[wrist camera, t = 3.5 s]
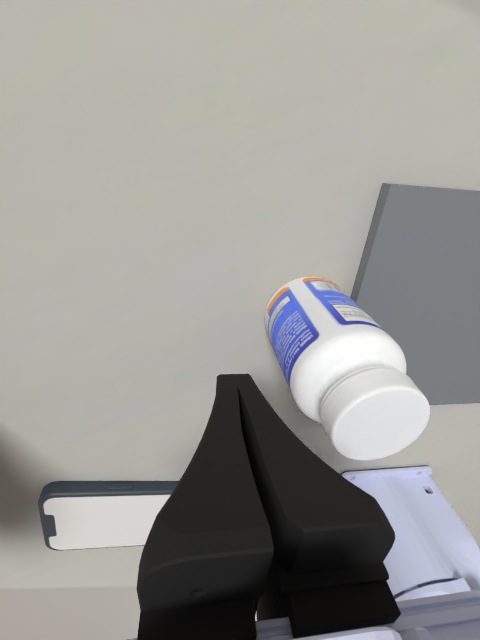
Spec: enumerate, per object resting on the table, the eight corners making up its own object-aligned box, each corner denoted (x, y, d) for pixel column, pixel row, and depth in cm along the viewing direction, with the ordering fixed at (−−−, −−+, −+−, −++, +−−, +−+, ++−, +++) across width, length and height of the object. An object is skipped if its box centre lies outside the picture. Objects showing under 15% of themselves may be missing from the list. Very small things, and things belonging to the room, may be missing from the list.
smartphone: (233, 473, 29) (43, 475, 25) (235, 490, 27) (34, 495, 24) (217, 526, 33) (52, 534, 29) (219, 542, 32) (45, 553, 28)
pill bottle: (279, 357, 22) (333, 490, 13) (249, 296, 19) (293, 413, 11) (351, 325, 21) (454, 443, 13) (331, 258, 19) (444, 351, 10)
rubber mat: (591, 200, 19) (607, 202, 18) (474, 396, 27) (482, 402, 26) (382, 183, 17) (390, 184, 16) (321, 401, 24) (325, 408, 24)
